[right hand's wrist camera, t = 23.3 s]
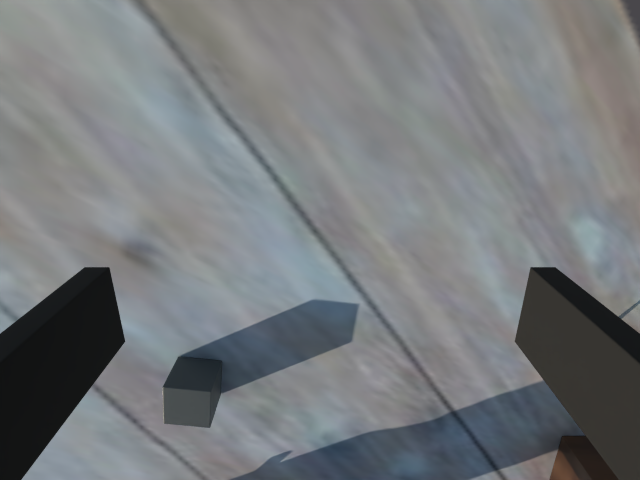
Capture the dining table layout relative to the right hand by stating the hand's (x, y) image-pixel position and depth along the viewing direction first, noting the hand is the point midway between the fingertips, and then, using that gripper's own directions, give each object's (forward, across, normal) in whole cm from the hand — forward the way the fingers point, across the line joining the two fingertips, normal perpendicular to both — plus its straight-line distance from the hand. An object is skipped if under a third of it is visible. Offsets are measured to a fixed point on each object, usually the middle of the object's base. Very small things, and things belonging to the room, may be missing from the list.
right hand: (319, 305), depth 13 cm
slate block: (+27, -14, -25) cm, 39 cm away
